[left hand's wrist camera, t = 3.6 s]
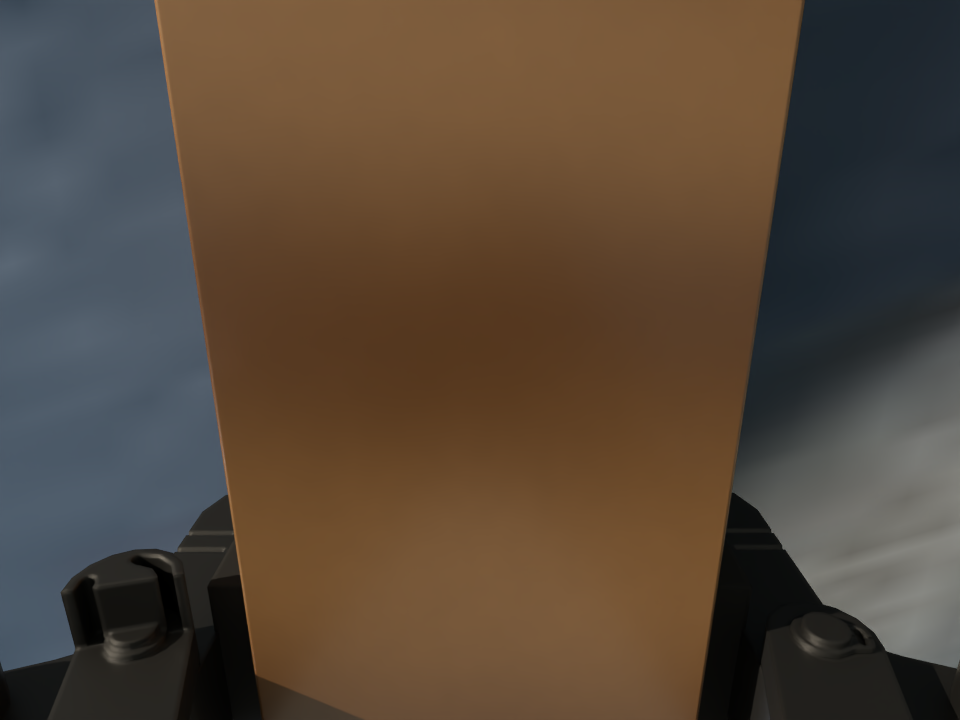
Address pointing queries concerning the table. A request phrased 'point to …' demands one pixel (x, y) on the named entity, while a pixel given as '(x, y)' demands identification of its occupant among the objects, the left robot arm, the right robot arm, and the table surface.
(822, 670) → the left robot arm
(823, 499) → the table surface
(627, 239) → the beam
